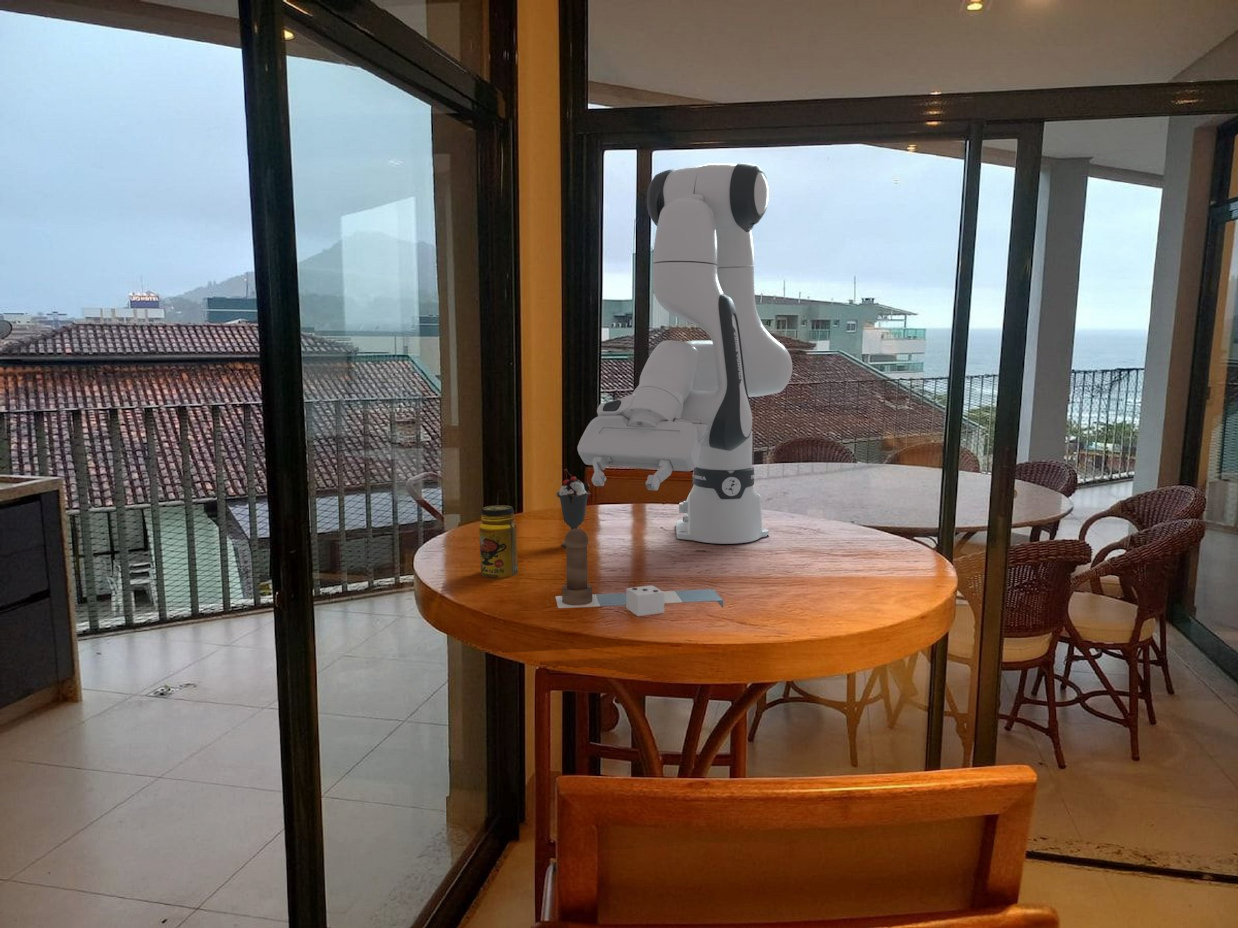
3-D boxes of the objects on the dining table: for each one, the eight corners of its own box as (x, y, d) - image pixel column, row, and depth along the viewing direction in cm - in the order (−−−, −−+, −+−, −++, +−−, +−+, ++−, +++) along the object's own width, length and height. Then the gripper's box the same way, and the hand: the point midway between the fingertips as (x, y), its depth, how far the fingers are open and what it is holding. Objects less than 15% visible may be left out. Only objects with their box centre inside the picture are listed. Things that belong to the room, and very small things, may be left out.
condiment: (474, 584, 138) (472, 511, 137) (483, 571, 147) (481, 502, 145) (520, 584, 138) (518, 511, 137) (526, 571, 147) (524, 501, 145)
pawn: (561, 597, 127) (560, 526, 126) (590, 595, 128) (590, 525, 126) (563, 605, 123) (562, 532, 121) (593, 604, 123) (593, 531, 122)
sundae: (552, 548, 164) (551, 469, 162) (563, 540, 170) (561, 465, 168) (585, 549, 162) (585, 470, 160) (595, 542, 168) (594, 466, 166)
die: (626, 615, 122) (626, 587, 121) (652, 612, 123) (652, 584, 123) (637, 623, 118) (637, 594, 118) (664, 620, 120) (664, 591, 119)
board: (555, 602, 128) (555, 596, 128) (713, 595, 131) (713, 589, 131) (558, 614, 122) (558, 607, 122) (723, 606, 125) (723, 600, 125)
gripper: (715, 433, 138) (691, 503, 130) (604, 428, 147) (575, 493, 140) (705, 406, 133) (679, 477, 126) (590, 403, 143) (560, 469, 135)
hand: (623, 485), depth 133 cm, fingers open, 8 cm apart
